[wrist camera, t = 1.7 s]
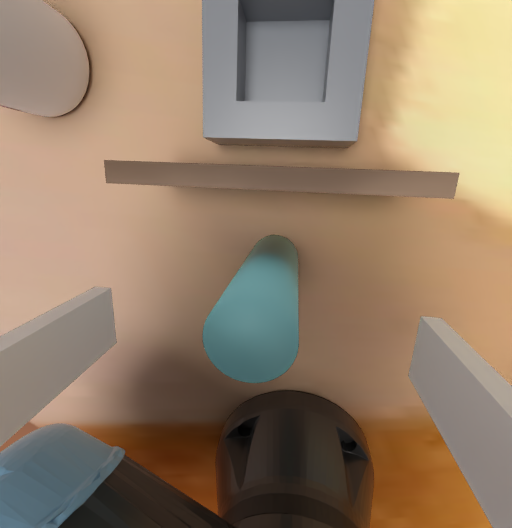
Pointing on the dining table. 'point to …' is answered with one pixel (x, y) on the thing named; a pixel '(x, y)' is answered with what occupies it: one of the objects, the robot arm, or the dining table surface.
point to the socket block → (284, 71)
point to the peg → (257, 315)
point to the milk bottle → (40, 59)
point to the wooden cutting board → (284, 178)
